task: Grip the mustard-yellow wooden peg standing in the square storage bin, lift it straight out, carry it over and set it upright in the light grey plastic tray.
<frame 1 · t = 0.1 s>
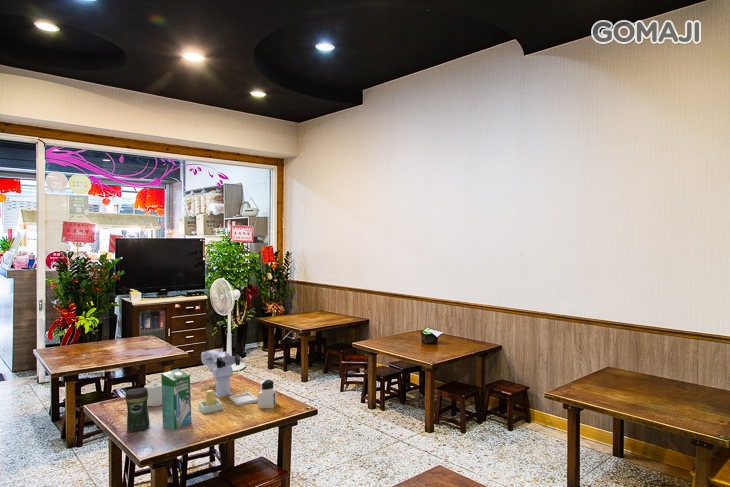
hand: (232, 363, 247), 22 cm above the table, tool horizontal, fingers open, 7 cm apart
coffee jar: (138, 429, 218), on the table
toilet tissue: (155, 403, 253), on the table
tray: (243, 400, 252), on the table
peg: (210, 408, 240), resting on square storage bin
container: (267, 406, 244), on the table
square storage bin: (210, 409, 240), on the table
milk carton: (177, 425, 222), on the table
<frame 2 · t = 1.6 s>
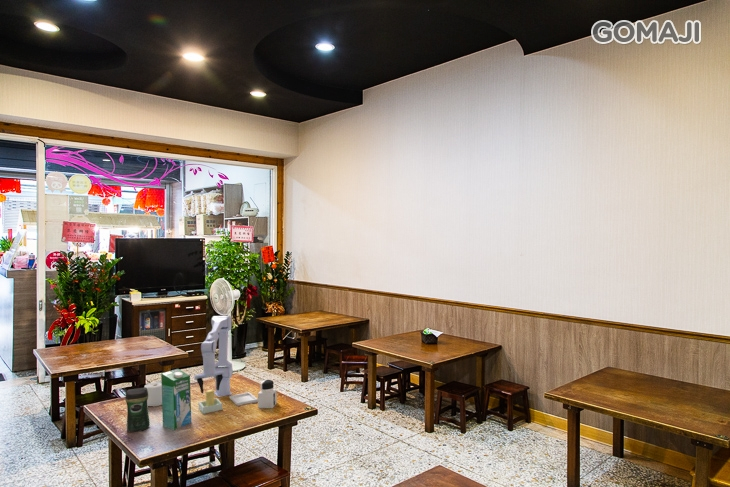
hand: (210, 391, 240), 9 cm above the table, tool pointing down, fingers open, 7 cm apart
nothing on the table moved.
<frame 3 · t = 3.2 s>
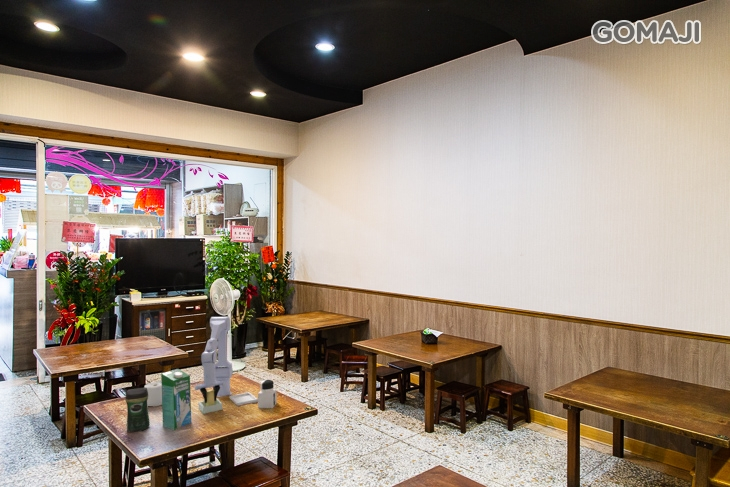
hand: (210, 401, 240), 4 cm above the table, tool pointing down, fingers closed on peg, 4 cm apart
peg: (210, 408, 240), resting on square storage bin, touching gripper
everything else where it was.
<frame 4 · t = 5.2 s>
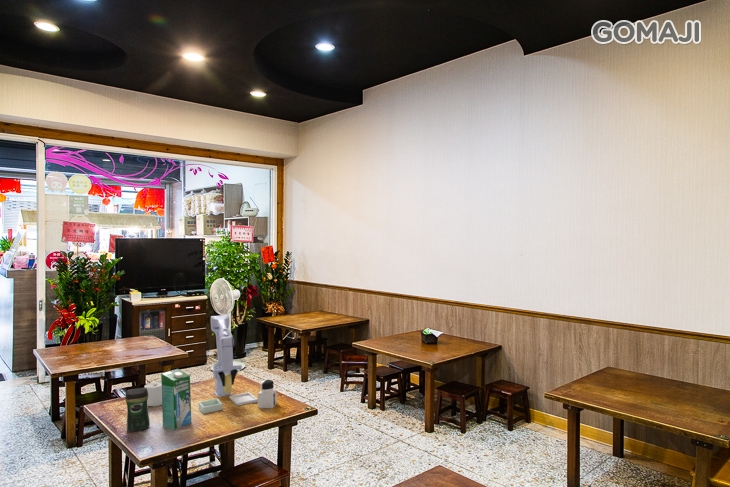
hand: (227, 385, 247), 10 cm above the table, tool pointing down, fingers closed on peg, 4 cm apart
peg: (228, 392, 247), point 7 cm above the table, touching gripper
everything else where it was.
when the fingers open (5 cm above the table, at t = 7.5 s): peg drops 1 cm, resting on tray.
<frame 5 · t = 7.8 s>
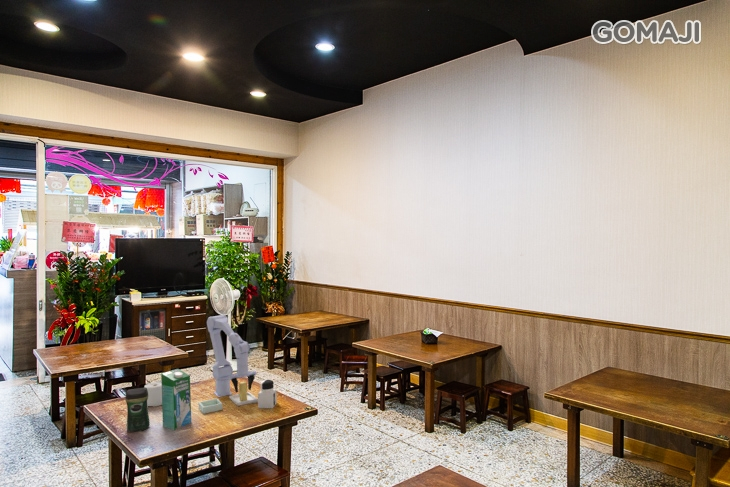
hand: (243, 390, 252), 5 cm above the table, tool pointing down, fingers open, 6 cm apart
peg: (243, 399, 252), point 1 cm above the table, touching tray
everything else where it was.
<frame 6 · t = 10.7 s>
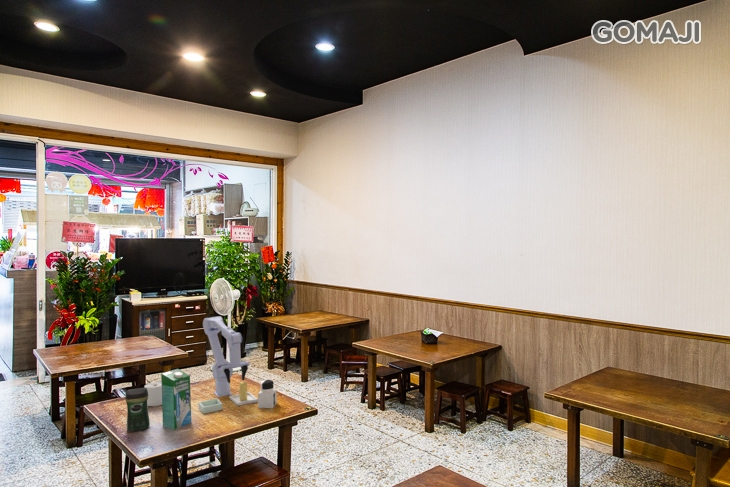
hand: (236, 381, 253), 10 cm above the table, tool pointing down, fingers open, 7 cm apart
nothing on the table moved.
at the end: peg inside the target area on the tray (0.1 cm from its centre), point 0.7 cm above the tray's base; peg tilted 2°; the gripper is holding nothing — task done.
